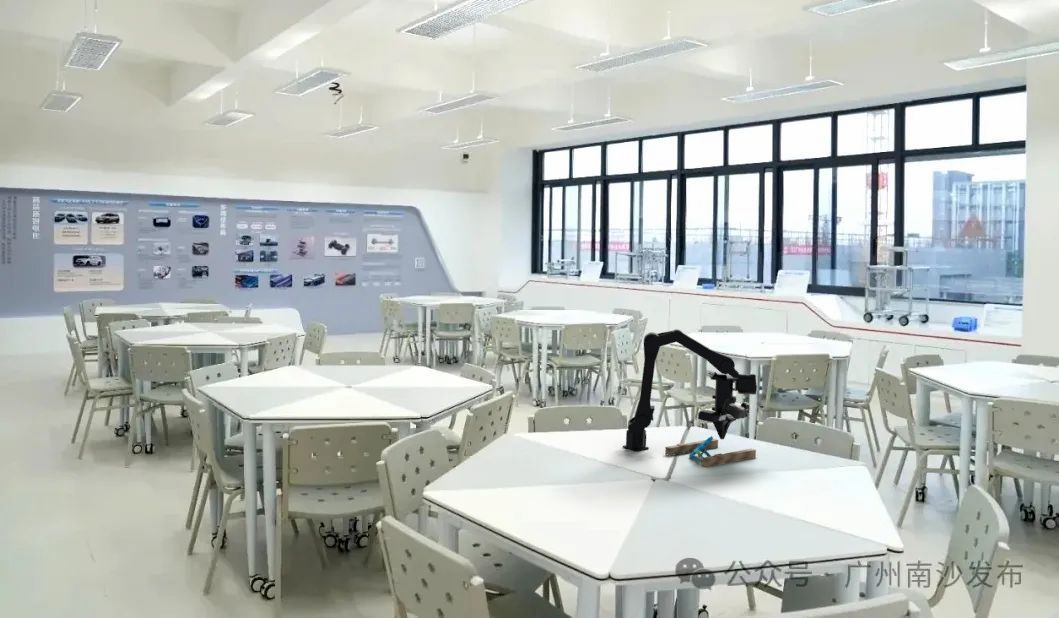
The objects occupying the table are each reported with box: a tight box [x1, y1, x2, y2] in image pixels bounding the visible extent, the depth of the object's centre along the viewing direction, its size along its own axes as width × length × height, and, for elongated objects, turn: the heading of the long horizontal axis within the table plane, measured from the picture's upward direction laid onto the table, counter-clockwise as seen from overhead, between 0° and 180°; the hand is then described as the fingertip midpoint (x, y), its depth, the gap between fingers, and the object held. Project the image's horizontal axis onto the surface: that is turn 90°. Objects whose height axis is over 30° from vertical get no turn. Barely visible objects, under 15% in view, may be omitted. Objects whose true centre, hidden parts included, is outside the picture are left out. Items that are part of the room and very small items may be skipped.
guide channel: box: [665, 438, 757, 468], centre depth 266 cm, size 24×18×3 cm
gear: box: [688, 435, 714, 460], centre depth 261 cm, size 11×6×10 cm
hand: (722, 439), depth 268 cm, fingers closed
